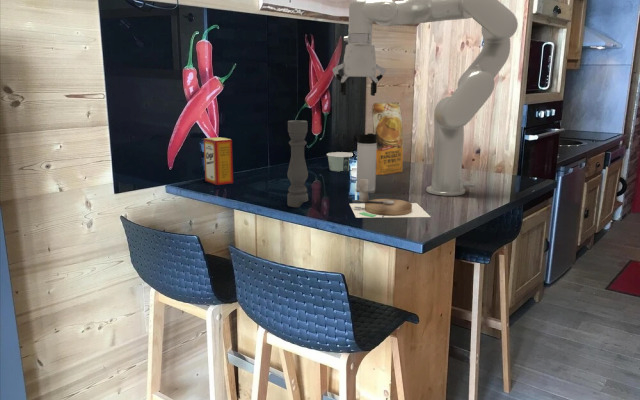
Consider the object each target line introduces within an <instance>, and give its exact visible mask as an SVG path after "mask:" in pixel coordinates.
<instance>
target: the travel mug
mask: <svg viewBox="0 0 640 400" xmlns="http://www.w3.org/2000/svg"><path fill="white" fill-rule="evenodd" d="M376 140H377V134H374V133H373V132H372V133H371V132H369V133H367V134H364V133H363V134H357V149H356V184H355V185H356V189H355V190H356V193H359V186H360V179H368V194H375V193H376V178H377V175H376V147H377V145H376V144H377V143H376V142H377V141H376Z"/></svg>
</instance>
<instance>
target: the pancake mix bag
mask: <svg viewBox="0 0 640 400" xmlns="http://www.w3.org/2000/svg"><path fill="white" fill-rule="evenodd" d="M371 117H372V129H373V130H372V131H373V132H372V133H373V134H377V140H376V141H377V142H376V143H377V144H376V145H377V147H376V176H386V175H393V174H399V173H400V174H401V173H403V170H404V167H403V165H404V164H403V163H404V162H403V161H404V124H403V117H402V108H401V104H400V103H399V102H374V103H373V104H372V105H371Z"/></svg>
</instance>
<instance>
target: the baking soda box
mask: <svg viewBox="0 0 640 400" xmlns="http://www.w3.org/2000/svg"><path fill="white" fill-rule="evenodd" d="M203 156H204V157H203V158H204V159H203V160H204V180H205V182H208V183H210V184H212V185H216V186H220V185H227V184H234V167H233V165H234V163H233V162H234V161H233V159H234V158H233V140H232V139H231V138H227V137H221V136H220V137H206V138H203Z"/></svg>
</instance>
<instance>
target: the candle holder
mask: <svg viewBox="0 0 640 400" xmlns="http://www.w3.org/2000/svg"><path fill="white" fill-rule="evenodd" d="M287 133H288V135H289V138H290V141H288V144H289V145H290V160H289V164H288V169H287V173H286V174H287V178H288V180H289V181H290V186H289V187H288V189H287V190H288V192H287V201H286V202H287V206H288V207H291V208H300V207H301V206H302V205H303V204H305V202H308V201H309V193H307V192H308V188H307V187H306V185H305V184H306V181H307V179H308V177H309V172H308V171H309V170H308V167H307V163H306V158H305V146H306V145H307V144H308V143H307V141H306V136H307V133H308V121H307V120H303V119H302V120H297V119H296V120H295V119H294V120H288V121H287Z"/></svg>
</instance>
